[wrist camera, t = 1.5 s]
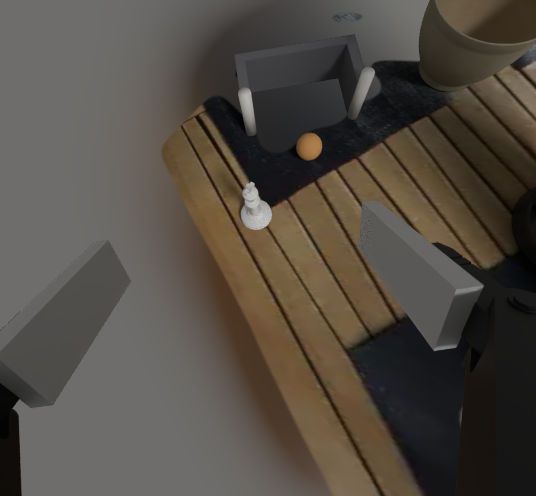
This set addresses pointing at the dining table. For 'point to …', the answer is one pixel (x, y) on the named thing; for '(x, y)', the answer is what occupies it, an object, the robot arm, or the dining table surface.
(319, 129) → the dining table surface
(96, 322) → the robot arm
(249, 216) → the chess piece
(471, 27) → the planter bowl
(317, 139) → the ball
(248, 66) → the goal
